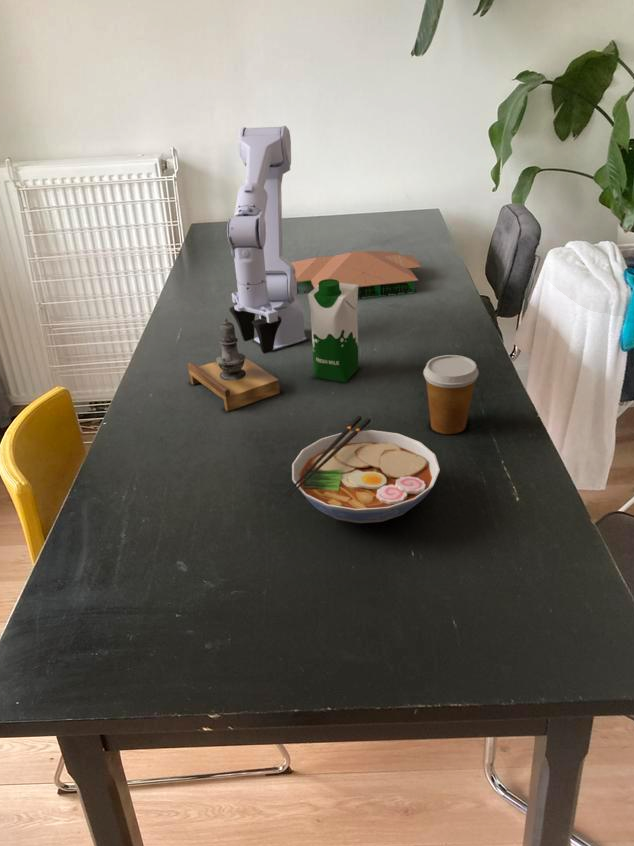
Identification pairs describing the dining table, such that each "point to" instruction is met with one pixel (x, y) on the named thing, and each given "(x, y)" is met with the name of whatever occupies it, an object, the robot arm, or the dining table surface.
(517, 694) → the dining table surface
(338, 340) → the milk carton
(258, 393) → the shelf stand
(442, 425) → the disposable coffee cup
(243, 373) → the grey stone finial
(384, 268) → the house
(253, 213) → the robot arm
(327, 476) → the ramen bowl
